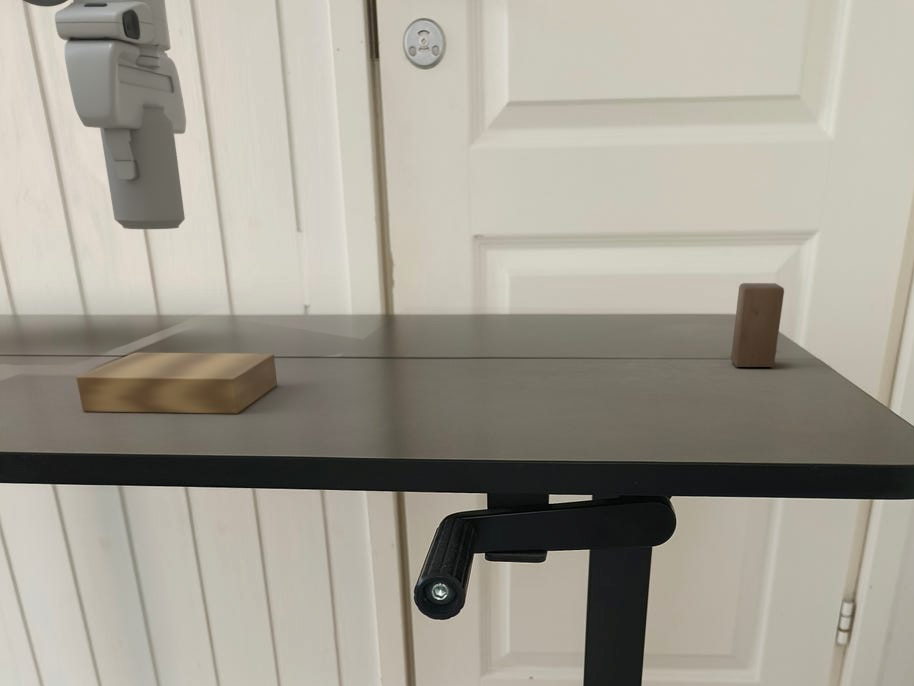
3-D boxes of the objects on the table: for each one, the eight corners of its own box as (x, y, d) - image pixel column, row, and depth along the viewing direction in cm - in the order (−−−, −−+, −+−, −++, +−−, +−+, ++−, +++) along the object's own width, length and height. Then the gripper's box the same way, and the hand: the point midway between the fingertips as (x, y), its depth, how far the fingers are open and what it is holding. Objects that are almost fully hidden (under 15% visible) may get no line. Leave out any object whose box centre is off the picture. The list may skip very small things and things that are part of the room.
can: (137, 230, 97) (118, 100, 92) (103, 227, 102) (82, 103, 96) (199, 228, 102) (184, 104, 97) (163, 225, 107) (147, 106, 101)
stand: (82, 411, 80) (75, 376, 79) (140, 383, 91) (134, 352, 89) (237, 414, 79) (233, 378, 78) (277, 385, 90) (274, 353, 88)
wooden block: (735, 368, 95) (744, 287, 92) (730, 361, 99) (739, 282, 95) (774, 369, 95) (785, 287, 91) (767, 361, 99) (778, 282, 95)
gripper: (136, 41, 103) (155, 178, 109) (44, 13, 85) (74, 179, 91) (190, 40, 103) (206, 178, 109) (109, 12, 84) (135, 180, 91)
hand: (145, 179), depth 100 cm, fingers closed on can, 7 cm apart
